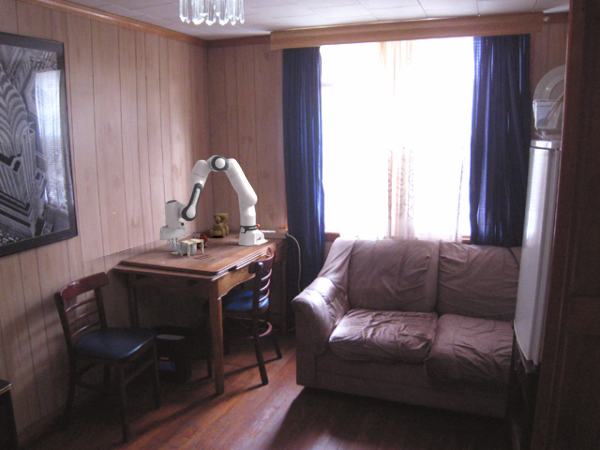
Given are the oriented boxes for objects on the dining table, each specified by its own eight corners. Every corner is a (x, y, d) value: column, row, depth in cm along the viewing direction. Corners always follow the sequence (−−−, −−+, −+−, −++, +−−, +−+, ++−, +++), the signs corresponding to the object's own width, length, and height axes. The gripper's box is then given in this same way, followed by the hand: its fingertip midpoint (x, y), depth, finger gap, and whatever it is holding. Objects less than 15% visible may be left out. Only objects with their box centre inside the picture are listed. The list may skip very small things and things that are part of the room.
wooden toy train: (216, 233, 402) (215, 212, 399) (230, 233, 400) (229, 213, 397) (209, 238, 382) (208, 216, 379) (223, 238, 381) (223, 217, 378)
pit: (205, 255, 328) (205, 254, 328) (212, 256, 325) (212, 255, 325) (194, 258, 320) (194, 257, 320) (200, 259, 317) (200, 258, 317)
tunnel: (195, 252, 336) (195, 238, 334) (203, 253, 332) (203, 239, 330) (180, 255, 326) (179, 241, 324) (188, 257, 321) (188, 243, 320)
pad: (182, 250, 342) (182, 250, 342) (188, 251, 338) (188, 251, 338) (170, 253, 334) (170, 252, 334) (176, 254, 330) (176, 254, 330)
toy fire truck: (205, 249, 346) (204, 234, 344) (190, 247, 350) (189, 233, 349) (210, 247, 352) (210, 232, 350) (195, 245, 357) (195, 231, 355)
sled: (176, 249, 342) (175, 237, 341) (198, 253, 329) (198, 242, 328) (169, 250, 338) (168, 239, 336) (191, 255, 324) (191, 243, 323)
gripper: (163, 227, 326) (164, 247, 328) (187, 222, 342) (188, 242, 345) (156, 226, 330) (158, 246, 332) (181, 221, 346) (182, 241, 348)
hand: (173, 244), depth 339 cm, fingers closed on sled, 3 cm apart
